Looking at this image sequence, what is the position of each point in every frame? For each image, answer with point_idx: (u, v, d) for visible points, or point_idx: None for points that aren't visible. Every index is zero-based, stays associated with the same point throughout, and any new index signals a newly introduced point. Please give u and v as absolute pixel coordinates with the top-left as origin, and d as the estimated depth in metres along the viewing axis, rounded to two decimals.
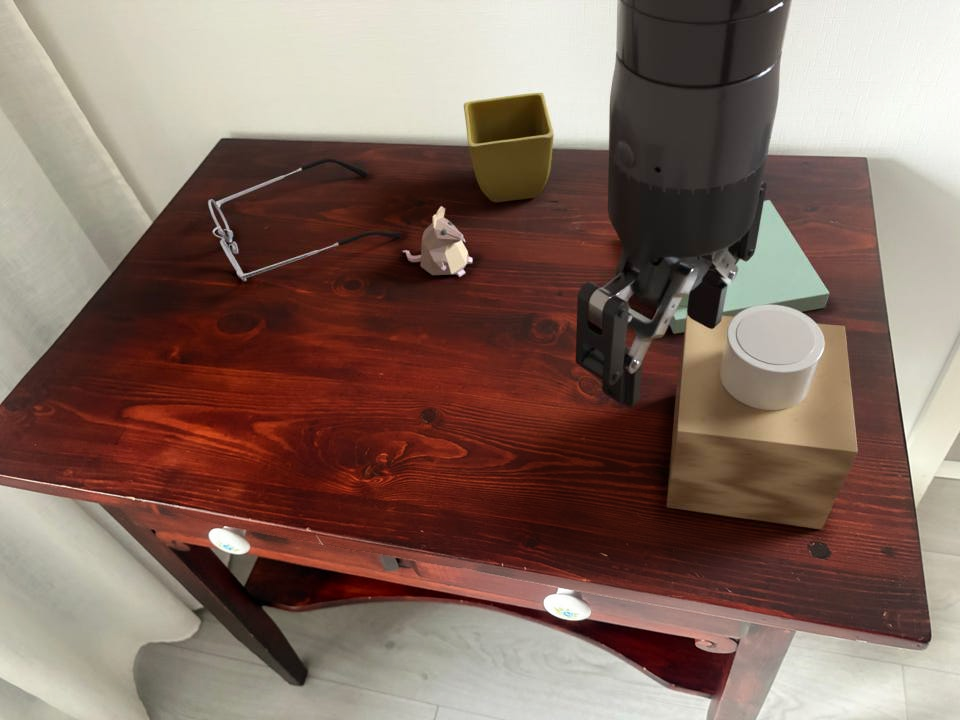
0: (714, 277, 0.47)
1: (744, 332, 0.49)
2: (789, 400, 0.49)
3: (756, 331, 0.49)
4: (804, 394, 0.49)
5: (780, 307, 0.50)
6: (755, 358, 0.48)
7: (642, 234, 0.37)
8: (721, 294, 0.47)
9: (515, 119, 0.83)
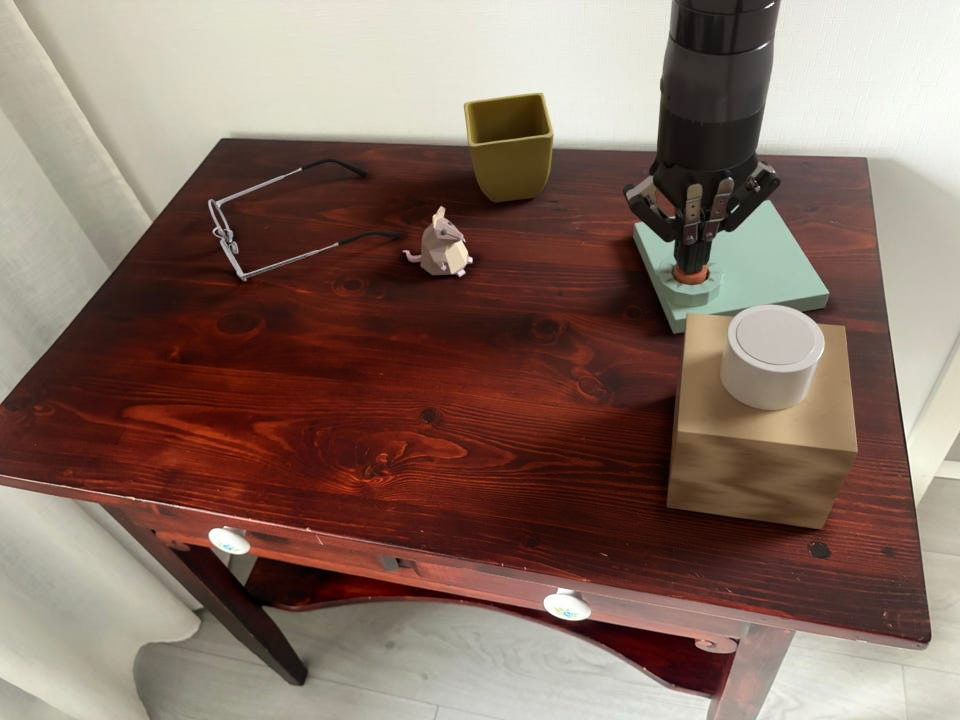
0: (698, 232, 0.64)
1: (744, 332, 0.49)
2: (789, 400, 0.49)
3: (756, 331, 0.49)
4: (804, 394, 0.49)
5: (780, 307, 0.50)
6: (755, 358, 0.48)
7: (661, 142, 0.57)
8: (699, 246, 0.65)
9: (515, 119, 0.83)
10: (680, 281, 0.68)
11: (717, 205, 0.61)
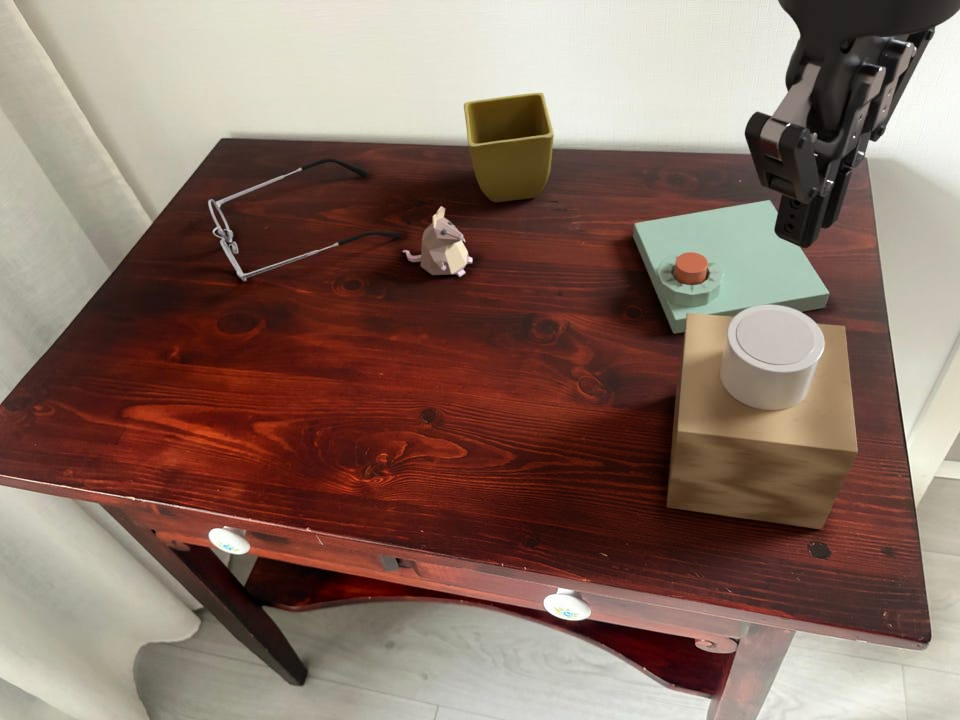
0: None
1: (744, 332, 0.49)
2: (789, 400, 0.49)
3: (756, 331, 0.49)
4: (804, 394, 0.49)
5: (780, 307, 0.50)
6: (755, 358, 0.48)
7: (836, 6, 0.30)
8: (845, 181, 0.39)
9: (515, 119, 0.83)
10: (681, 276, 0.68)
11: (885, 99, 0.36)
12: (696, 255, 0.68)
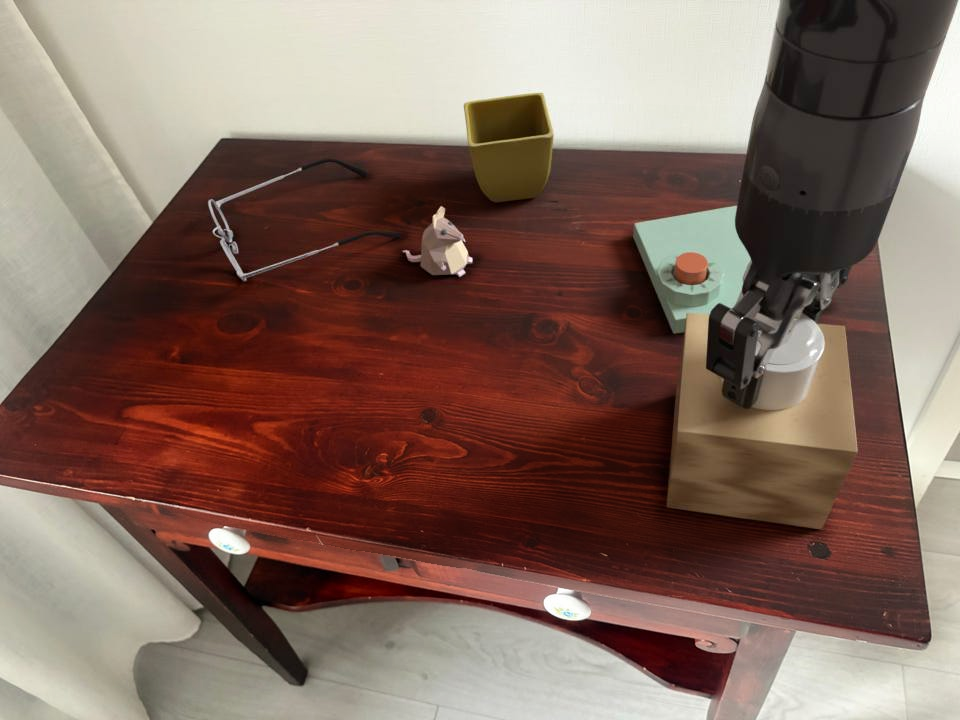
0: (809, 303, 0.49)
1: None
2: (789, 400, 0.49)
3: None
4: (804, 394, 0.49)
5: None
6: None
7: (777, 252, 0.40)
8: (815, 319, 0.49)
9: (515, 119, 0.83)
10: (681, 276, 0.68)
11: (831, 284, 0.46)
12: (696, 255, 0.68)
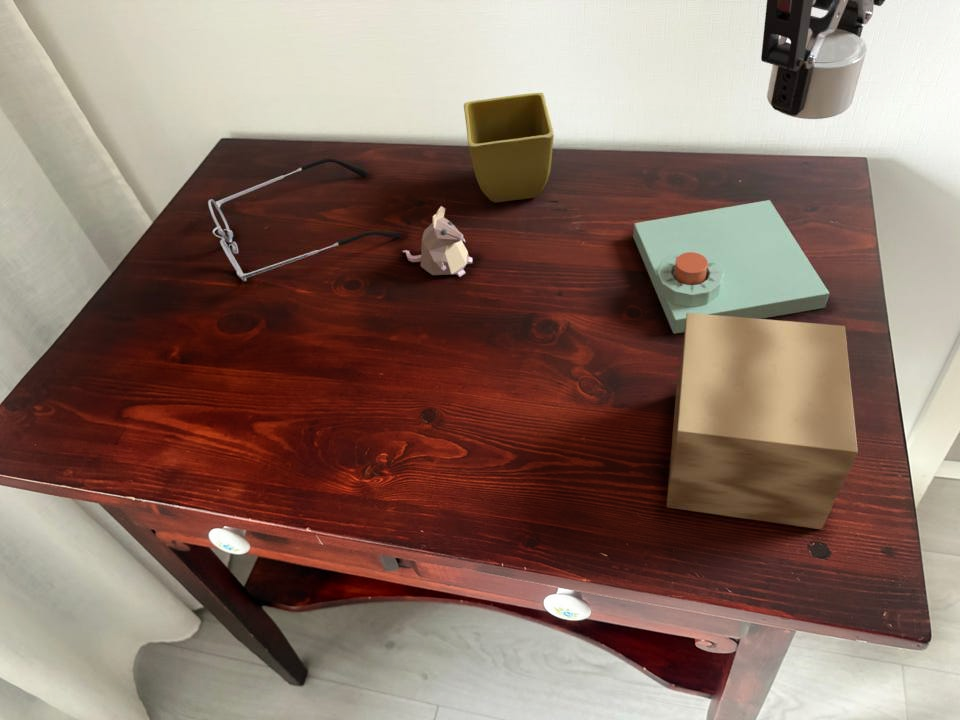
0: (852, 18, 0.54)
1: None
2: (833, 105, 0.54)
3: None
4: (847, 102, 0.54)
5: None
6: None
7: None
8: (857, 34, 0.54)
9: (515, 119, 0.83)
10: (681, 276, 0.68)
11: None
12: (696, 255, 0.68)
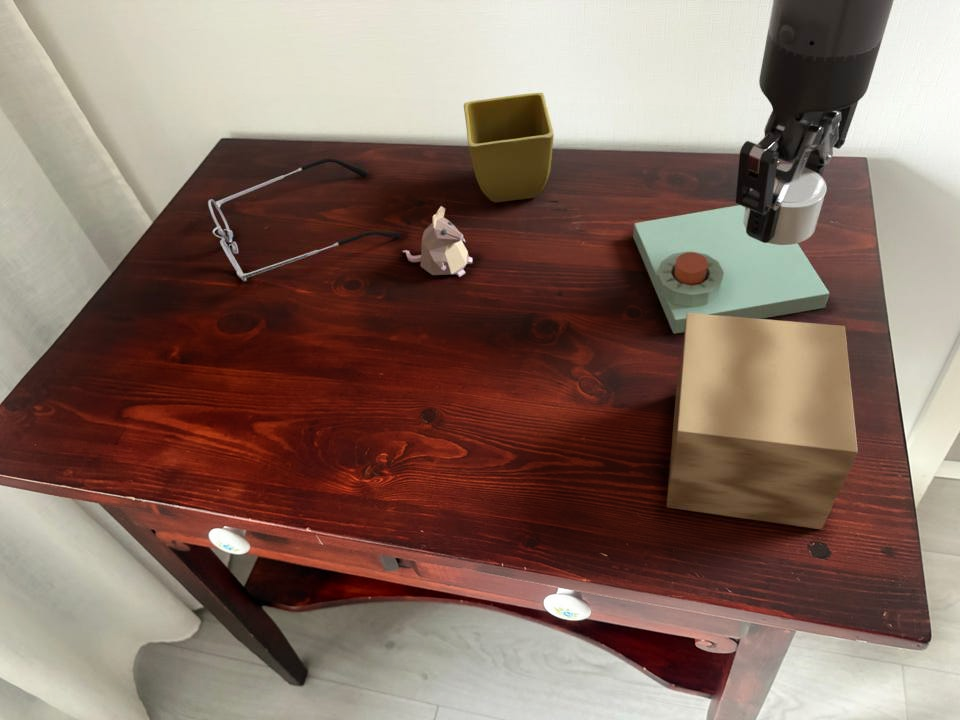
0: (815, 160, 0.63)
1: None
2: (798, 234, 0.63)
3: None
4: (810, 231, 0.63)
5: (791, 165, 0.64)
6: None
7: (792, 96, 0.53)
8: (819, 173, 0.63)
9: (515, 119, 0.83)
10: (681, 276, 0.68)
11: (832, 137, 0.59)
12: (696, 255, 0.68)
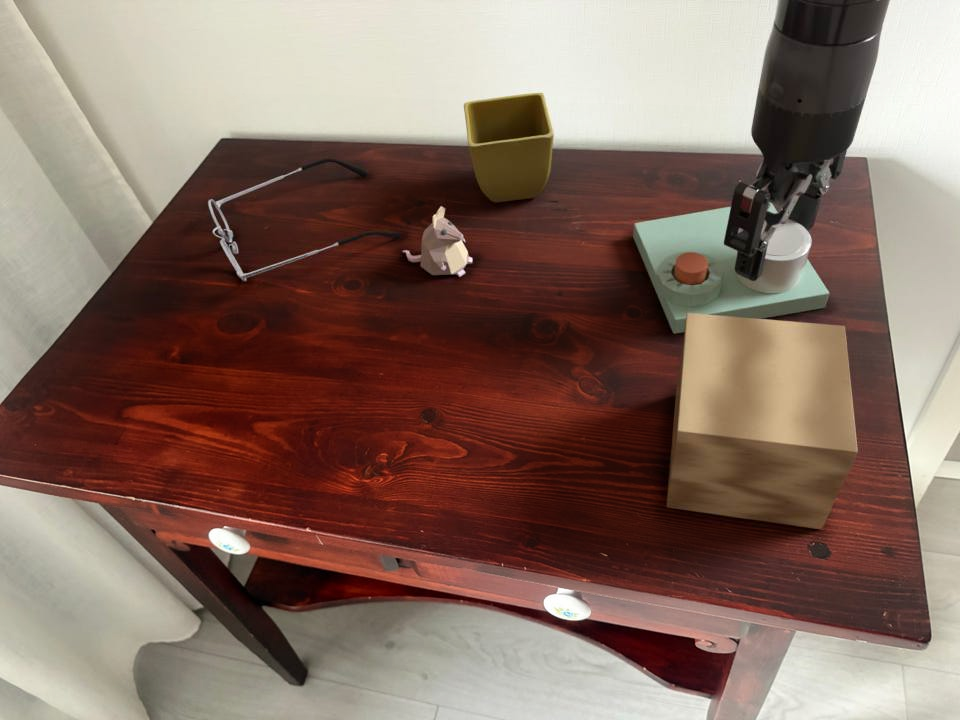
0: (812, 190, 0.66)
1: None
2: (785, 284, 0.67)
3: (761, 234, 0.67)
4: (797, 281, 0.67)
5: None
6: None
7: (781, 147, 0.56)
8: (817, 203, 0.66)
9: (515, 119, 0.83)
10: (681, 276, 0.68)
11: (824, 177, 0.62)
12: (696, 255, 0.68)
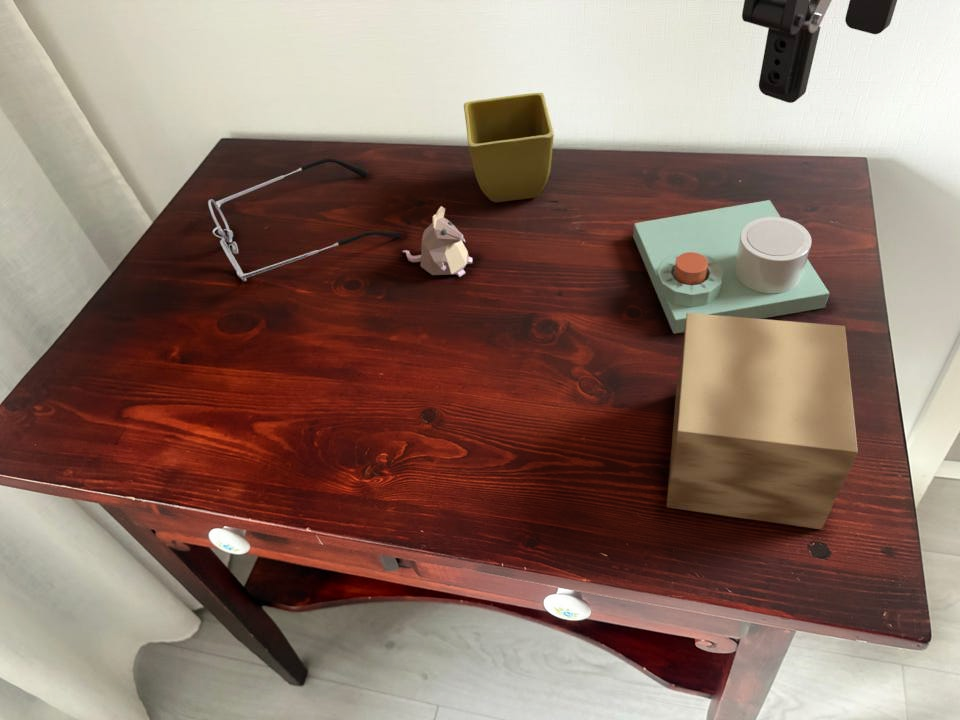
0: None
1: (753, 235, 0.67)
2: (785, 284, 0.67)
3: (761, 234, 0.67)
4: (797, 281, 0.67)
5: (779, 218, 0.68)
6: (761, 252, 0.66)
7: None
8: None
9: (515, 119, 0.83)
10: (681, 276, 0.68)
11: None
12: (696, 255, 0.68)
